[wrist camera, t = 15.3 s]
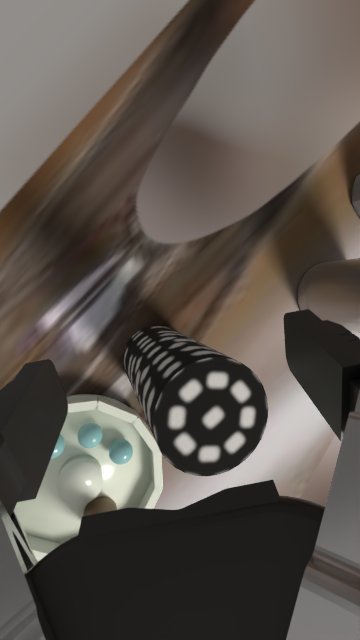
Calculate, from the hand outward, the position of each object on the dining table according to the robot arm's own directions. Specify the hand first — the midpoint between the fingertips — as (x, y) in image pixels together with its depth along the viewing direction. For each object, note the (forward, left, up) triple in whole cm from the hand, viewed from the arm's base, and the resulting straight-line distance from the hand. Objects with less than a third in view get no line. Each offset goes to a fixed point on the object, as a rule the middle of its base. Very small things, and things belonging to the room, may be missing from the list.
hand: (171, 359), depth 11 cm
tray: (+5, +19, -29) cm, 36 cm away
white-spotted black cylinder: (-5, +6, -30) cm, 31 cm away
